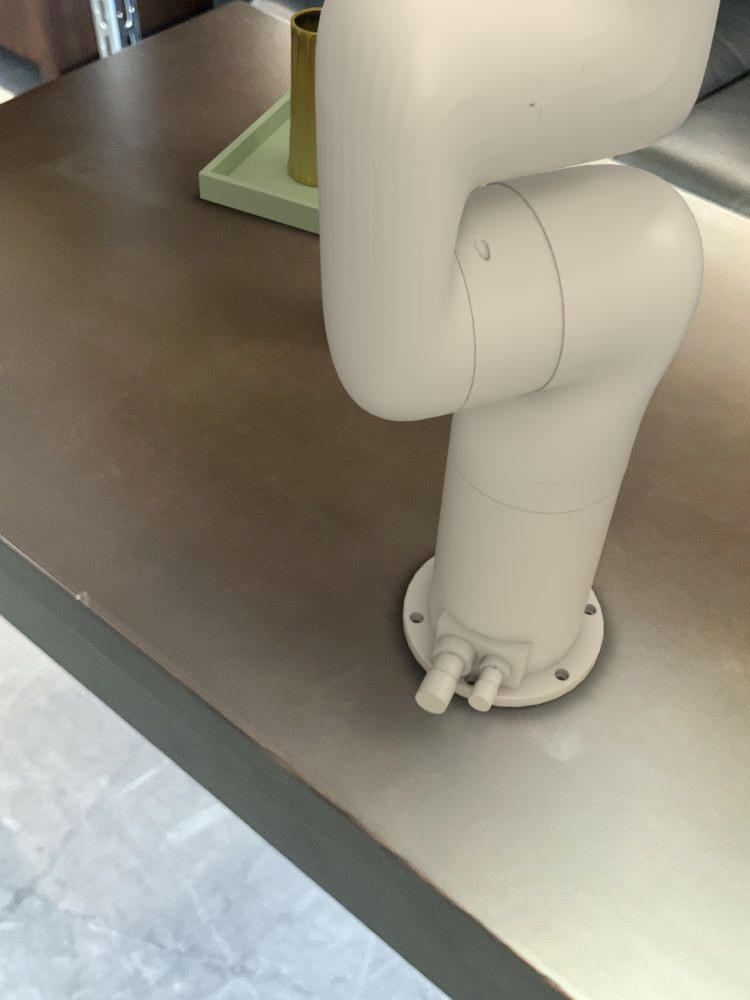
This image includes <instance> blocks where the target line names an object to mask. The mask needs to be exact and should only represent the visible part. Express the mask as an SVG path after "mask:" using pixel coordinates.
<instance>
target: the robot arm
mask: <svg viewBox="0 0 750 1000" xmlns="http://www.w3.org/2000/svg"><path fill="white" fill-rule="evenodd" d="M323 1H324V2H323V5H322V10H321V15H320V20H319V25H318V31H317V40H316V51H315V110H316V140H317V170H318V201H319V231H320V235H319V258H320V259H319V260H320V264H319V265H320V284H321V302H322V311H323V312H322V313H323V321H324V330H325V334H326V339H327V340H326V341H327V344H328V348H329V353H330V356H331V361H332V364H333V367H334V368H335V372H336V374H337V376H338V378H339V381H340V383H341V384H342V386H343V388H344V390H345V392H346V393H347V394H348V396H349V397H350V398H351V399H352V400H353V401H354V402H355V403H356V405H357V406H359V407H360V408H361V409H362V410H364V411H365V412H366V413H368V414H370V415H372V416H374V417H377V418H380V419H382V420H386V421H393V422H414V421H421V420H427V419H431V418H437V417H442V416H445V415H449V414H452V417H451V426H450V432H449V438H448V439H449V440H448V446H447V453H446V454H447V456H446V462H445V471H444V477H443V478H444V479H443V486H442V495H441V501H440V503H441V504H440V510H439V511H440V512H439V520H438V527H437V536H436V543H435V550H434V556H432V557H430V558H429V559H428V560H427V561H425V562H424V563H423V564H422V565H421V567H420V568H419V569H418V570H416V572H415V574H414V575H413V577H412V579H411V581H410V583H409V584H408V586H407V590H406V593H405V596H404V600H403V608H402V624H403V632H404V636H405V639H406V642H407V645H408V647H409V649H410V651H411V653H412V654H413V656H414V658H415V660H416V661H417V663H418V664H419V665H420V666H421V667H422V668H423V669H424V671H425V672H426V674H425V676H424V677H423V680H422V682H421V684H420V686H419V687H418V689H417V691H416V693H415V696H414V697H415V699H414V700H415V702H416V703H417V705H418V706H419V707H420V708H422V709H423V710H424V711H427V712H429V713H430V714H434V715H441V714H444V713H445V712H446V710H447V708H448V707H449V704H450V702H451V700H452V698H453V696H454V694H457V695H458V696H460V697H463V698H466V699H467V701H468V704H469V705H470V707H471V708H472V709H475V711H477V712H478V711H479V712H483V713H484V712H489V710H490V709H491V707H492V706H495V707H507V708H508V707H509V708H521V707H528V706H529V707H530V706H536V705H540V704H544V703H546V702H550V701H554V700H556V699H558V698H560V697H562V696H563V695H566V694H567V693H569V692H571V691H572V690H574V689H575V688H576V687H577V686H578V685H580V684H581V683H582V682H583V681H584V680H585V679H586V677H587V676H588V675H589V673H590V672H591V671H592V669H593V668H594V666H595V664H596V661H597V659H598V657H599V655H600V651H601V649H602V648H601V647H602V644H603V641H604V636H605V635H604V632H605V631H604V627H605V626H604V625H605V622H604V617H603V613H602V607H601V605H600V602H599V600H598V598H597V596H596V594H595V592H594V590H593V589H592V586H593V583H594V581H595V580H594V579H595V575H596V573H597V569H598V565H599V561H600V558H601V555H602V553H603V549H604V544H605V541H606V539H607V534H608V530H609V527H610V524H611V521H612V517H613V513H614V510H615V506H616V503H617V499H618V496H619V493H620V489H621V485H622V482H623V479H624V476H625V475H626V471H627V468H628V464H629V461H630V457H631V455H632V454H631V453H632V451H633V447H634V444H635V441H636V438H637V434H638V432H639V429H640V426H641V423H642V420H643V417H644V415H645V412H646V410H647V407H648V405H649V403H650V401H651V398H652V396H653V394H654V392H655V390H656V389H657V386H658V385H659V383H660V381H661V379H662V378H663V376H664V374H665V373H666V371H667V369H668V367H669V366H670V364H671V362H672V360H673V359H674V357H675V356H676V354H677V352H678V350H679V349H680V346H681V345H682V343H683V341H684V339H685V338H686V336H687V333H688V332H689V331H688V330H689V329H690V326H691V324H692V320H693V319H694V316H695V313H696V311H697V308H698V304H699V300H700V296H701V293H702V287H703V281H704V271H705V270H704V266H705V264H704V263H705V261H704V260H705V259H704V258H705V257H704V256H705V255H704V248H703V240H702V235H701V232H700V228H699V225H698V222H697V220H696V218H695V215H694V213H693V211H692V209H691V207H690V206H689V204H688V203H687V201H686V199H685V198H684V197H683V196H682V194H680V192H679V191H678V190H676V188H674V187H673V186H672V185H671V184H670V183H669V182H668V181H666V180H665V179H663V178H662V177H661V176H659V175H656V174H654V173H652V172H650V171H648V170H646V169H642V168H638V167H635V166H630V165H623V164H615V163H603V164H599V163H598V164H588V163H592V162H593V163H594V162H596V161H597V162H598V161H602V160H605V159H610V158H613V157H619V156H621V155H626V154H629V153H633V152H637V151H639V150H643V149H645V148H648V147H650V146H653V145H654V144H656V143H658V142H661V141H663V140H665V139H666V138H668V137H670V136H671V135H672V134H674V133H675V132H676V131H677V130H678V129H680V127H681V126H682V125H683V124H684V123H685V121H686V120H687V118H688V117H689V115H690V114H691V112H692V110H693V108H694V106H695V104H696V102H697V100H698V97H699V94H700V90H701V87H702V84H703V81H704V77H705V73H706V69H707V65H708V62H709V58H710V53H711V49H712V43H713V38H714V35H715V30H716V24H717V19H718V15H719V14H718V13H719V9H720V3H721V0H323Z"/></svg>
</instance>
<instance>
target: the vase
mask: <svg viewBox="0 0 750 1000" xmlns="http://www.w3.org/2000/svg"><path fill="white" fill-rule="evenodd" d="M322 7H323V6H322ZM322 7H319V6H317V7H316V6H314V7H307V8H303V9H300V10H298V11H296V12H295V13H293V14H292V16H291V17H290V19H289V20H290V22H289V24H290V25H289V26H290V90H291V100H290V137H289V159H288V165H287V169H288V172H289V174H290V175H291V176H292V177H293V178H294V179H295V180H297V181H299V182H301V183H303V184H307V185H311V186H318V170H317V140H316V110H315V51H316V40H317V31H318V25H319V20H320V15H321V10H322Z"/></svg>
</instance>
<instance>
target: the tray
mask: <svg viewBox="0 0 750 1000" xmlns="http://www.w3.org/2000/svg"><path fill="white" fill-rule="evenodd" d="M290 100H291V89H289V90H288V91H287V92H286V93H285V94H284V95H283V96H282V97H280V98H279V99H278V100H277V101H276V102H275V103H274V104H273V105H271V106H270V107H269V108H268V109H267V110H266V111H265V112H264V113H263V114H262V115H260V117H258V119H256V120H255V121H254V122H253V123H252V124H251V125H250V126H248V128H246V129H245V130H244V131H243V132H242V133H241V134H240V135H239V136H237V138H235V139H234V140H233V141H232V142H231V143H229V145H227V146H226V147H225V148H224V149H223V150H222V151H220V152H219V154H218V155H216V156H215V158H213V159H212V160H211V161H210V162H209V163H208V164H207V165H205V167H203V168H202V169H201V170H200V171H199V172H198V185H199V186H198V187H199V198H200V199H202V200H205V201H207V202H212V203H214V204H219V205H221V206H225V207H227V208H231V209H234V210H237V211H241V212H244V213H248V214H251V215H254V216H258V217H261V218H264V219H267V220H271V221H273V222H277V223H281V224H284V225H287V226H290V227H293V228H297V229H300V230H303V231H307V232H310V233H312V234H317V235H319V236H320V231H319V201H318V186H311V185H307V184H303V183H301V182H299V181H297V180H295V179H294V178H293V177H292V176H291V175H290V174H289V172H288V169H287V165H288V159H289V137H290Z"/></svg>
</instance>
